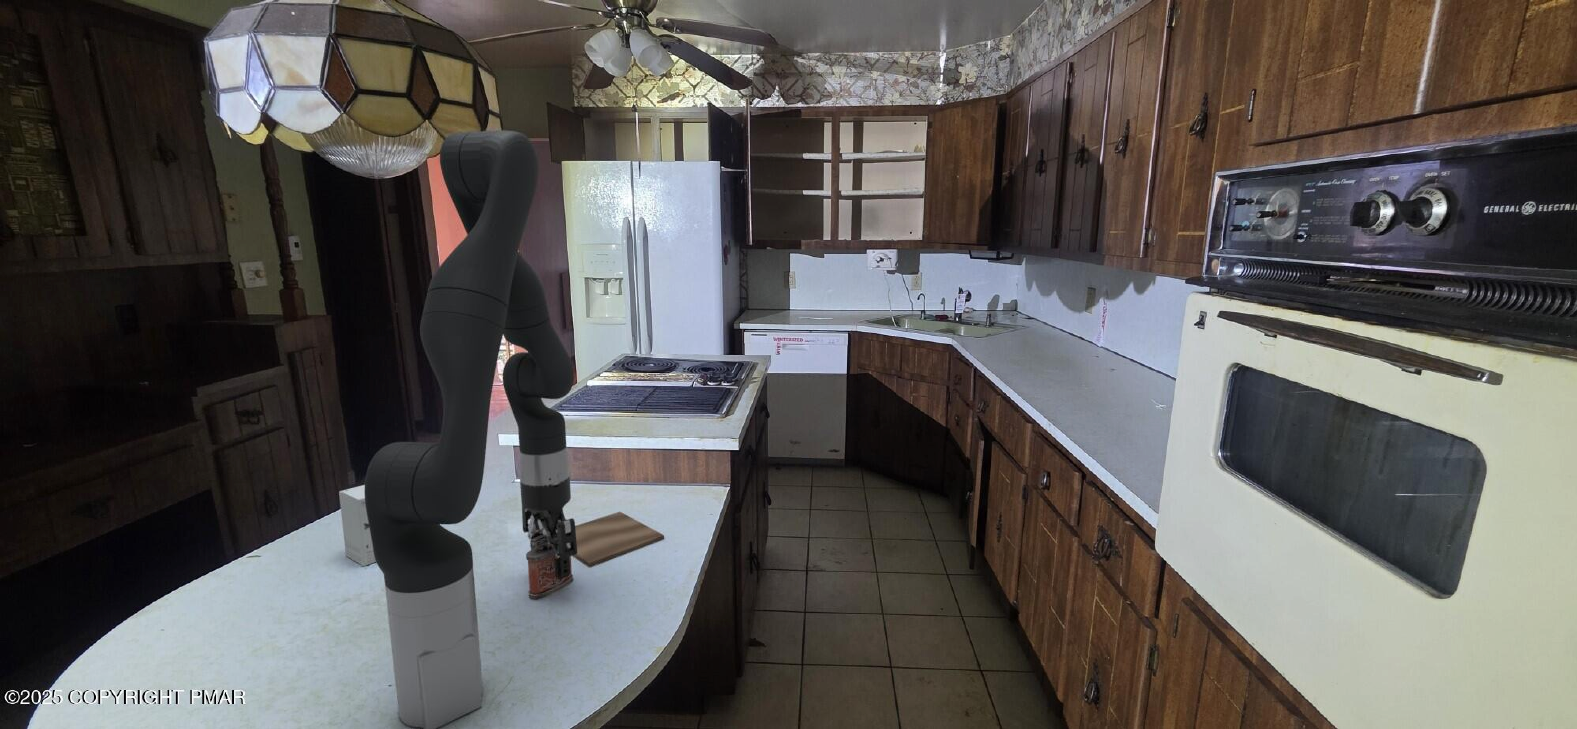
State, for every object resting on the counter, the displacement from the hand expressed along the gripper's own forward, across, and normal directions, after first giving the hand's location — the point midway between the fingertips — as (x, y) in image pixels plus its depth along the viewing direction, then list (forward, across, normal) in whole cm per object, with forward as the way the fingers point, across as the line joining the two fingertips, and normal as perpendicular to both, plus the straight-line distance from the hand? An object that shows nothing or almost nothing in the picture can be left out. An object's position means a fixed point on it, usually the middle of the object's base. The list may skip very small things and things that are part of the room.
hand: (550, 567), depth 105 cm
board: (+4, -10, +16) cm, 19 cm away
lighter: (+4, 0, 0) cm, 4 cm away
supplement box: (+4, -34, -17) cm, 38 cm away
